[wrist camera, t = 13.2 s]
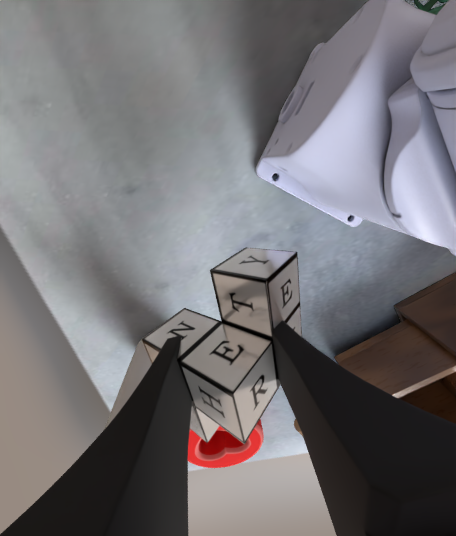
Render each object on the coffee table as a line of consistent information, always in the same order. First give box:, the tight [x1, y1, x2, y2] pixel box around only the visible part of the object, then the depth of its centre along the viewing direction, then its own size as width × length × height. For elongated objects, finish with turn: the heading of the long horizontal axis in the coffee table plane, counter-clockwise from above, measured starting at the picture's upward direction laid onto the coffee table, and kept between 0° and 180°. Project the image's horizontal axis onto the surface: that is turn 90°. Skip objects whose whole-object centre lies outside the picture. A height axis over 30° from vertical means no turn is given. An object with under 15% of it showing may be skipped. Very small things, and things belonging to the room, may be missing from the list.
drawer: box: [294, 319, 456, 436], centre depth 23 cm, size 16×12×6 cm
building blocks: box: [142, 248, 302, 444], centre depth 11 cm, size 5×5×8 cm
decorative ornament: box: [188, 420, 264, 468], centre depth 26 cm, size 10×10×3 cm
